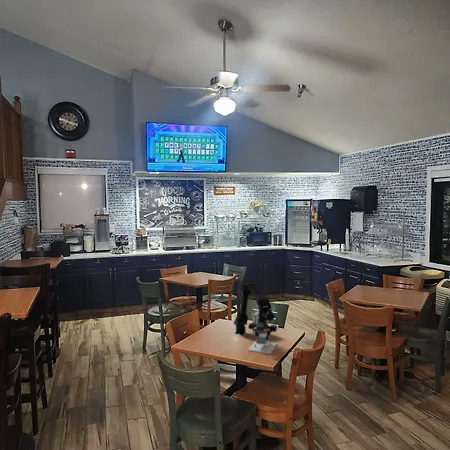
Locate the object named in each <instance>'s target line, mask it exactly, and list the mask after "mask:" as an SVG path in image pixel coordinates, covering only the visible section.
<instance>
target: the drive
mask: <svg viewBox="0 0 450 450" xmlns="http://www.w3.org/2000/svg"><path fill="white" fill-rule="evenodd" d="M255 337H256V340H255V341H256V343H258V344H266V343H267V342H269V340H270V337H269V338H268V340H267V333H260V334H259V335H258V336H255Z"/></svg>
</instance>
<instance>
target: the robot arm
mask: <svg viewBox="0 0 450 450" xmlns="http://www.w3.org/2000/svg"><path fill="white" fill-rule="evenodd" d="M239 292H240V293H241V298H240V303H239V304H240V306H239V311H238V313H237V314H236V317H235V319H234V321H233V325H235V332H234V334H238V335H244V334H245V333H247V332H246V331H247V330H246V329H247V327H246V325H248V329H249V330H252V331H253V330H254V331H255V333H256V335H257V336H258V335H259V331H264V329H268V331H267V340H268V338H269V339H270V336H271V333H276V332H277V330H278V325H275V324H271V325H270V326H269V325H268V326H267V320H268V322H271V321H273V320H274V319H275V314H274V312H273V311H272V305H271V303H270V301H269V299H268V297H266V296H265V295H263V294H262V293H261V291H260V290H259V289H258V287H257V286H256V283H254V282H250V283H242V284H240V286H239ZM250 294H252V295H253V297H254V298H255V302H256V303H255V304H256V305H257V310H258V312H259V319H258V323H257V325H256V323H253V322H250V323H249V324H248V322H249V321H248V319H249V316H248V314H247V308H248V300H249V296H250ZM257 336H256V337H257ZM268 341H269V340H268Z"/></svg>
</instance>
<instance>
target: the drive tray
mask: <svg viewBox="0 0 450 450" xmlns="http://www.w3.org/2000/svg"><path fill="white" fill-rule="evenodd" d="M277 345H278V342H271V341H270V342H269V341H267V343H266V344H258V343H256V340H255V341H254V342H253V343H252V345H250V346H249V347H248V349H247V351H248V352H253V353H260V354H261V353H262V354H267V355H268V354H269V355H271V354H272V352H273V351H274V349H275V348H276V347H277Z"/></svg>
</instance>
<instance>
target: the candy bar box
mask: <svg viewBox="0 0 450 450" xmlns="http://www.w3.org/2000/svg"><path fill="white" fill-rule="evenodd" d="M251 316H252V323H256V325H257V323H258V319H259V311H256V312H255V311H254V312H252V315H251ZM267 326H269V320H267ZM267 331H268V329H264V331H259V334H260V333H267ZM253 334H254V335H253ZM252 335H253V336H255V337H257V335H256V333H255V331H254V330H252Z"/></svg>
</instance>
